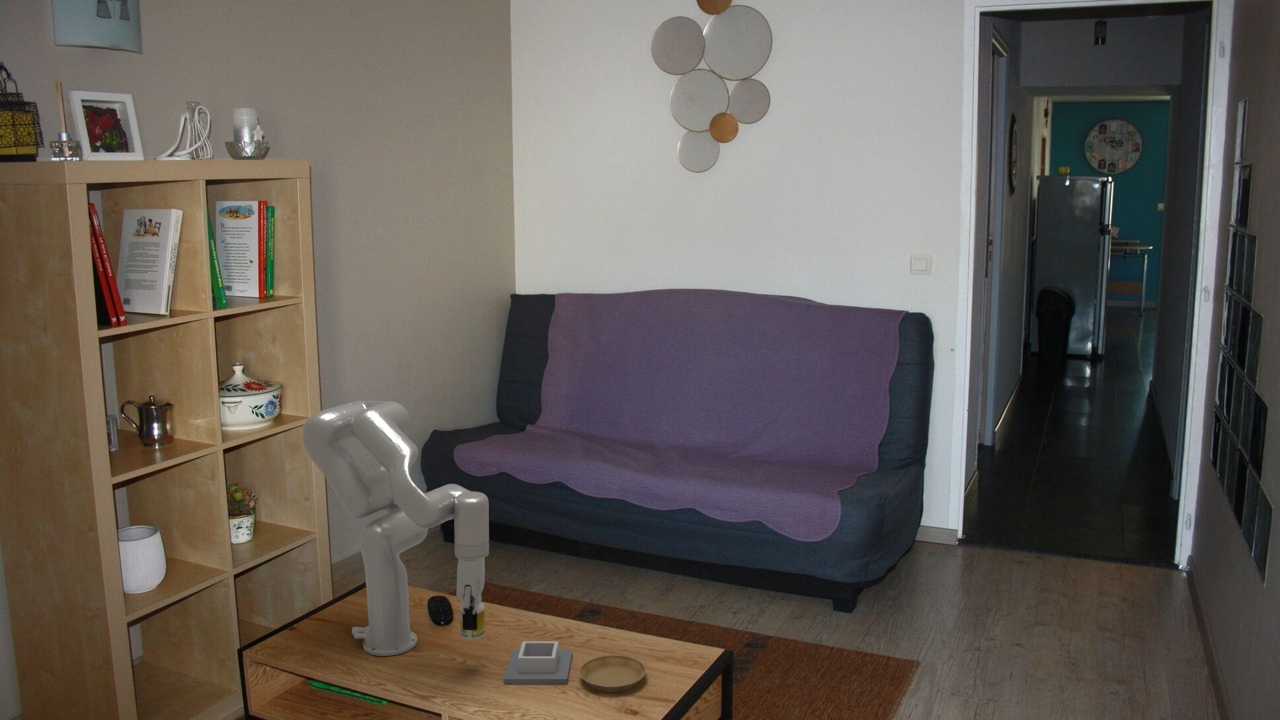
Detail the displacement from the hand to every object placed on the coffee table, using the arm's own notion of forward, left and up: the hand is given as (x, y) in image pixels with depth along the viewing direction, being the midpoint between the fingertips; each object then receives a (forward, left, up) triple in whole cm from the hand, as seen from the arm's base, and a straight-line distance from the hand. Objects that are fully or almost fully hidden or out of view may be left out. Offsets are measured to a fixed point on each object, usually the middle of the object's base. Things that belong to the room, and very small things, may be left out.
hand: (472, 622), depth 232 cm
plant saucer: (+32, -5, -12) cm, 34 cm away
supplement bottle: (0, 0, -3) cm, 3 cm away
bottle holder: (+15, 0, -11) cm, 19 cm away
